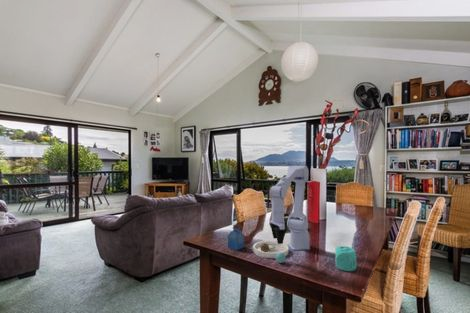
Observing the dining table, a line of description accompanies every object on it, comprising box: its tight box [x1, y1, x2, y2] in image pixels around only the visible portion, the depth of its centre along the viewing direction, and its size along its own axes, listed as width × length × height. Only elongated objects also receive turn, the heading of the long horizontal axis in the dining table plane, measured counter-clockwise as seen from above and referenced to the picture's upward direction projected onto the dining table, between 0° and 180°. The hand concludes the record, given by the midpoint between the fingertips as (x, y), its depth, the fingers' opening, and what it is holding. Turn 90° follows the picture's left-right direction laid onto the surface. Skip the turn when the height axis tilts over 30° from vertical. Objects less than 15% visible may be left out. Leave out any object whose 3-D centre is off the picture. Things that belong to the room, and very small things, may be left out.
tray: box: [252, 240, 290, 259], centre depth 127 cm, size 18×18×2 cm
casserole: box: [284, 213, 301, 231], centre depth 172 cm, size 25×19×8 cm
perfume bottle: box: [227, 224, 245, 251], centre depth 133 cm, size 6×6×12 cm
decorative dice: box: [334, 245, 357, 272], centre depth 109 cm, size 8×8×8 cm
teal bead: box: [275, 253, 286, 264], centre depth 113 cm, size 4×4×4 cm
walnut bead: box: [260, 243, 269, 252], centre depth 124 cm, size 4×4×4 cm
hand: (277, 240), depth 115 cm, fingers open, 7 cm apart
